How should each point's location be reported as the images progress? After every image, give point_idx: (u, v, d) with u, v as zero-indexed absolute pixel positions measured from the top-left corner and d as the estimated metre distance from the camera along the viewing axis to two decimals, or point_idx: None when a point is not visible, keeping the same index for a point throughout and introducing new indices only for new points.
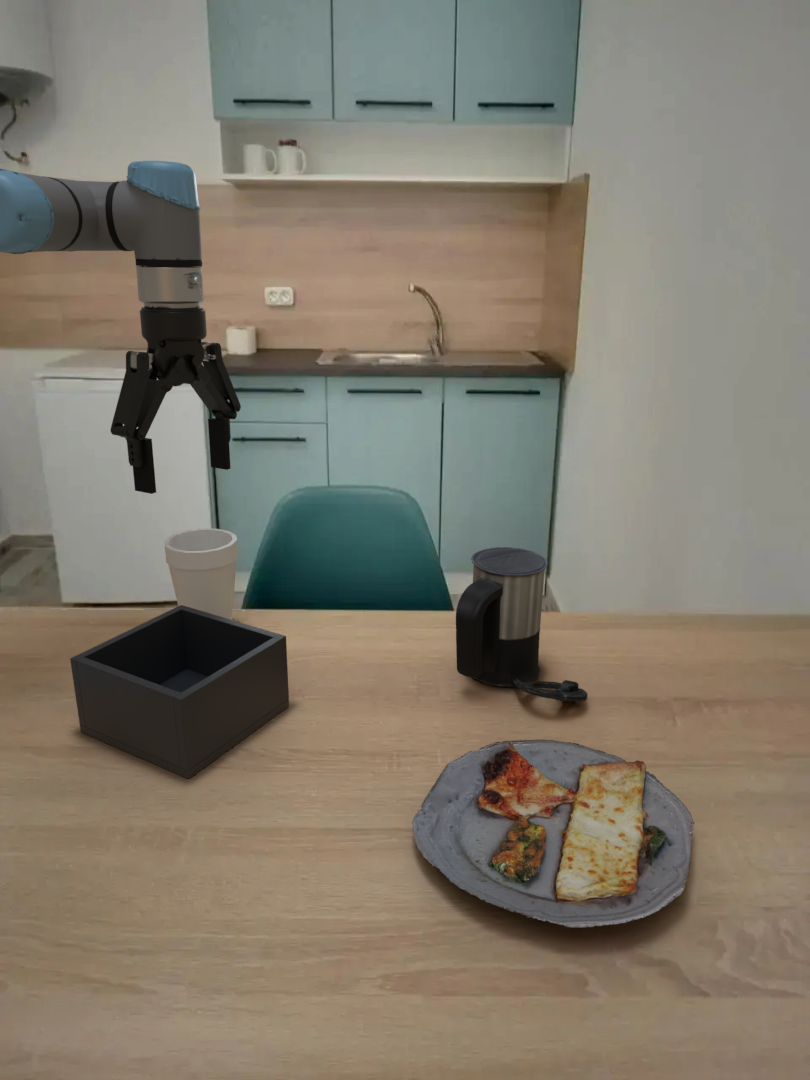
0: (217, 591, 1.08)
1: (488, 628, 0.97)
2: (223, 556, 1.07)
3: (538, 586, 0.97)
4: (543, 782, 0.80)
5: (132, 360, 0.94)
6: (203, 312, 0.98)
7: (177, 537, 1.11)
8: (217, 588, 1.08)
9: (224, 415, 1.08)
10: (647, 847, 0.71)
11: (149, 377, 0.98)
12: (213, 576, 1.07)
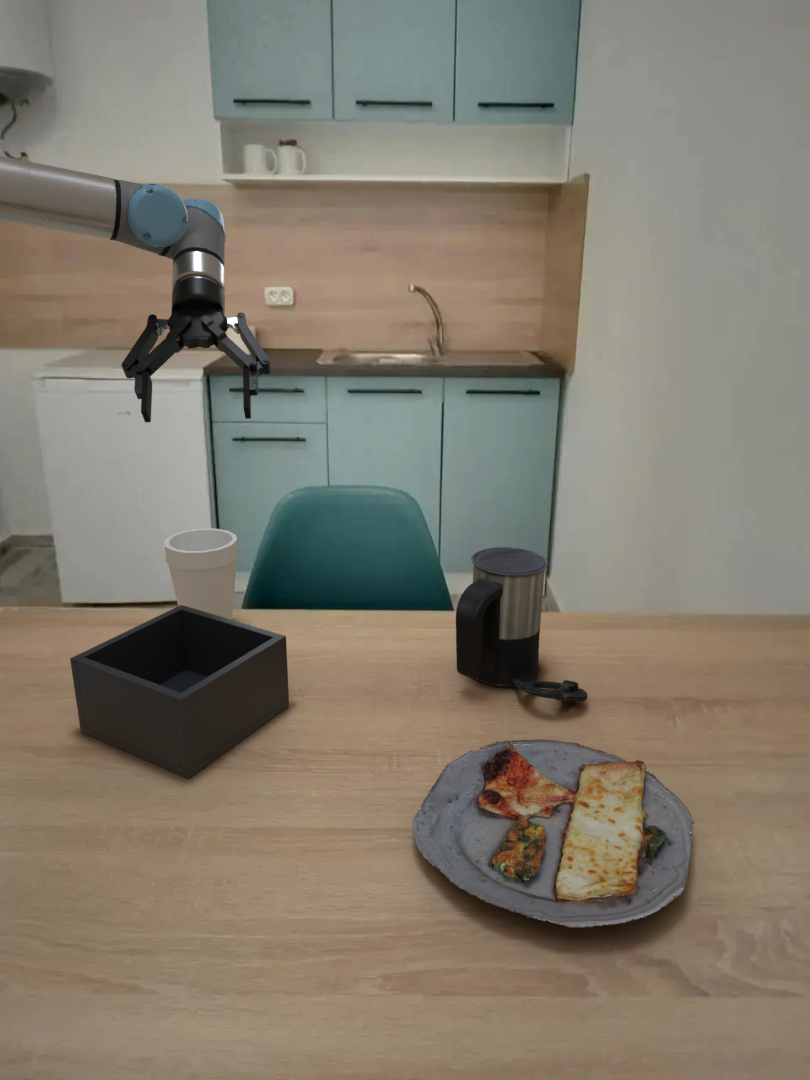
0: (217, 591, 1.08)
1: (488, 628, 0.97)
2: (223, 556, 1.07)
3: (538, 586, 0.97)
4: (543, 782, 0.80)
5: None
6: None
7: (177, 537, 1.11)
8: (217, 588, 1.08)
9: None
10: (647, 847, 0.71)
11: None
12: (213, 576, 1.07)
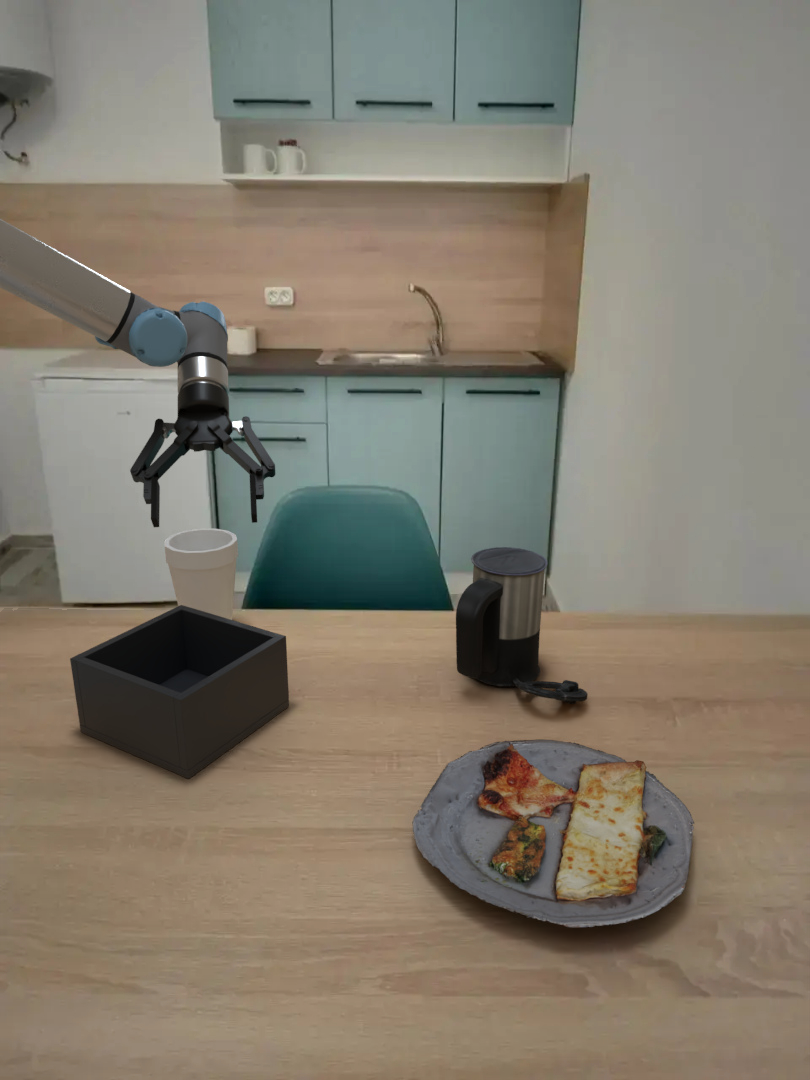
0: (217, 591, 1.08)
1: (488, 628, 0.97)
2: (223, 556, 1.07)
3: (538, 586, 0.97)
4: (543, 782, 0.80)
5: None
6: None
7: (177, 537, 1.11)
8: (217, 588, 1.08)
9: None
10: (647, 847, 0.71)
11: None
12: (213, 576, 1.07)
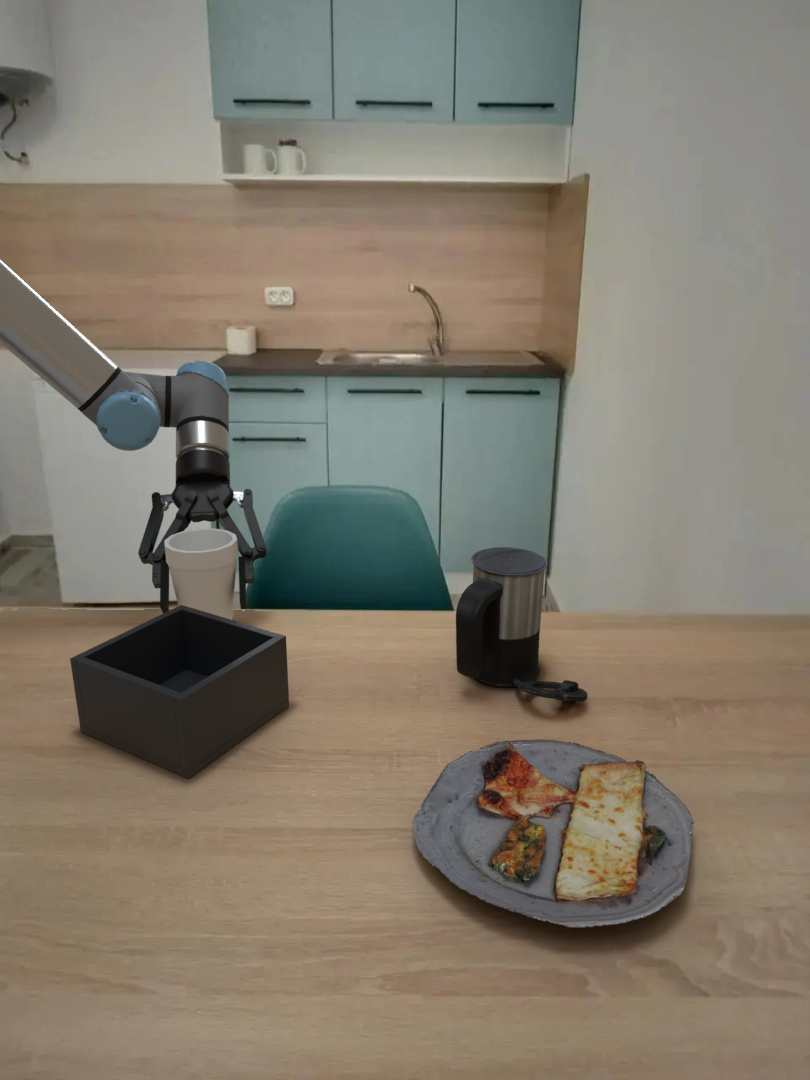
0: (217, 591, 1.08)
1: (488, 628, 0.97)
2: (223, 556, 1.07)
3: (538, 586, 0.97)
4: (543, 782, 0.80)
5: (252, 498, 1.17)
6: None
7: (177, 537, 1.11)
8: (217, 588, 1.08)
9: None
10: (647, 847, 0.71)
11: None
12: (213, 576, 1.07)
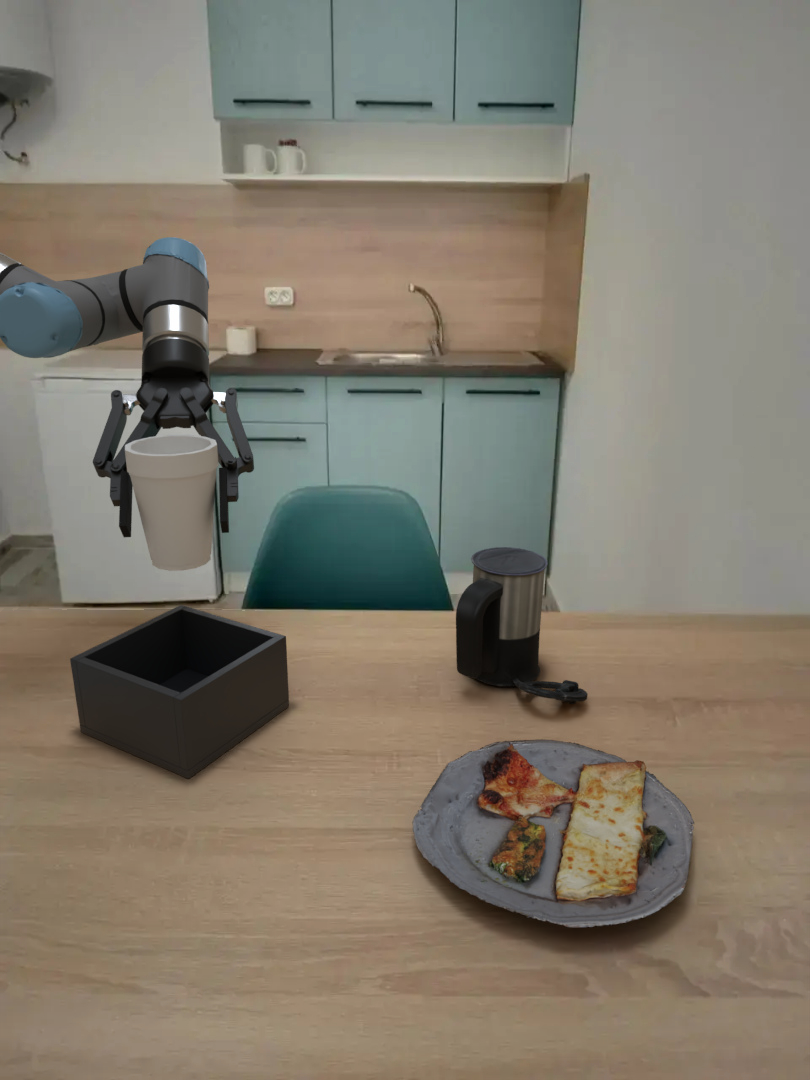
0: (192, 508, 0.86)
1: (488, 628, 0.97)
2: (199, 462, 0.85)
3: (538, 586, 0.97)
4: (543, 782, 0.80)
5: (236, 401, 0.94)
6: None
7: (142, 443, 0.89)
8: (192, 504, 0.86)
9: None
10: (647, 847, 0.71)
11: None
12: (186, 487, 0.85)
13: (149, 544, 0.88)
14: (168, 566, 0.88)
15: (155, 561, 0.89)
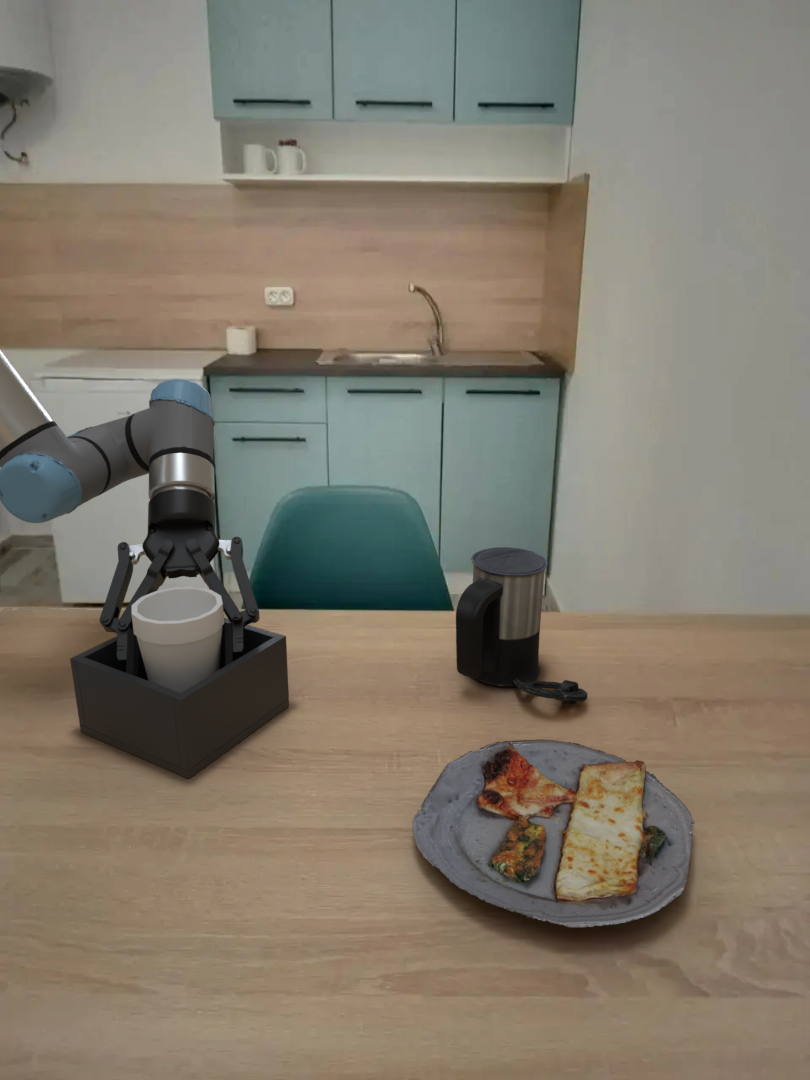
0: (197, 669, 0.87)
1: (488, 628, 0.97)
2: (205, 626, 0.85)
3: (538, 586, 0.97)
4: (543, 782, 0.80)
5: (242, 548, 0.95)
6: None
7: (148, 599, 0.90)
8: (197, 665, 0.87)
9: None
10: (647, 847, 0.71)
11: None
12: (192, 651, 0.85)
13: None
14: None
15: None
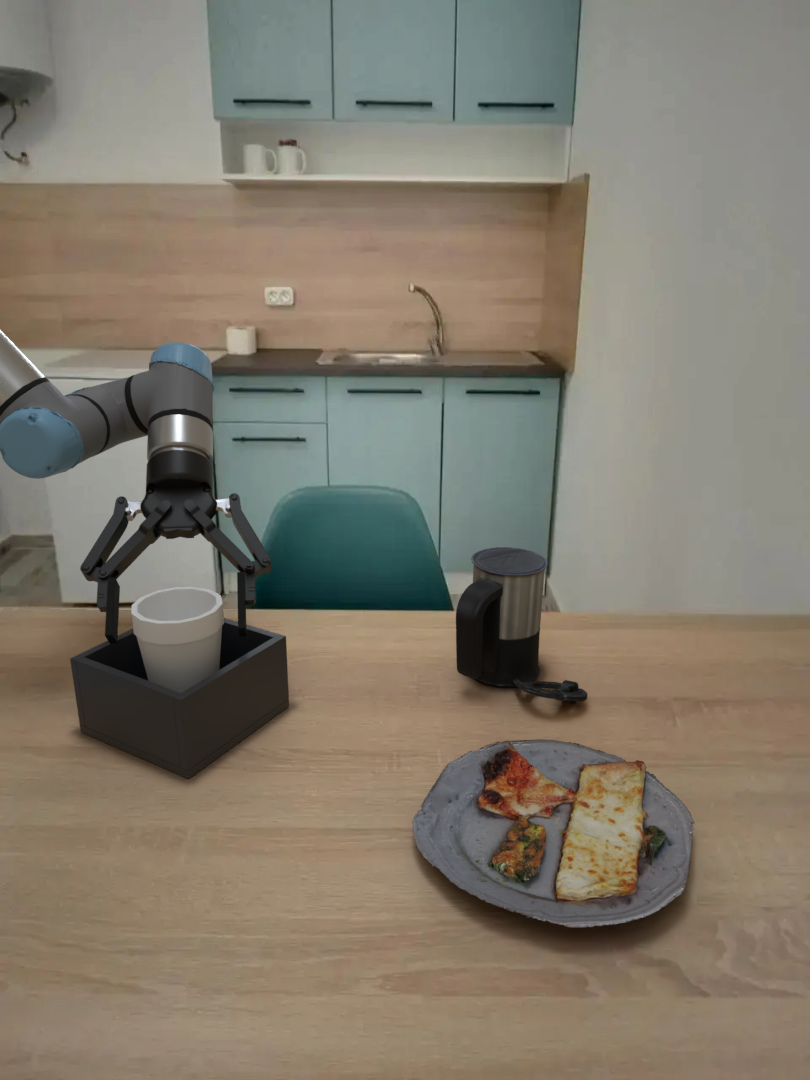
0: (197, 669, 0.87)
1: (488, 628, 0.97)
2: (205, 626, 0.85)
3: (538, 586, 0.97)
4: (543, 782, 0.80)
5: None
6: None
7: (148, 599, 0.90)
8: (197, 665, 0.87)
9: None
10: (647, 847, 0.71)
11: None
12: (192, 650, 0.85)
13: None
14: None
15: None
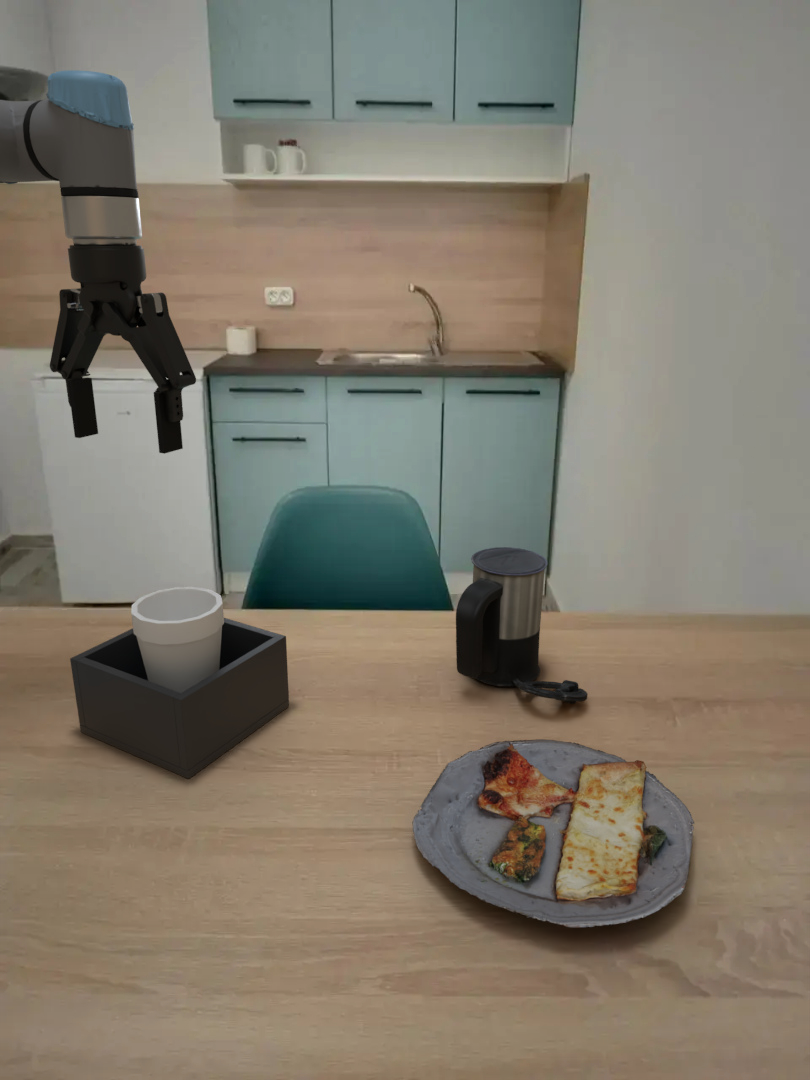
0: (197, 669, 0.87)
1: (488, 628, 0.97)
2: (205, 626, 0.85)
3: (538, 586, 0.97)
4: (543, 782, 0.80)
5: (157, 303, 0.85)
6: None
7: (148, 599, 0.90)
8: (197, 665, 0.87)
9: (84, 372, 0.95)
10: (647, 847, 0.71)
11: (127, 326, 0.86)
12: (192, 650, 0.85)
13: None
14: None
15: None
